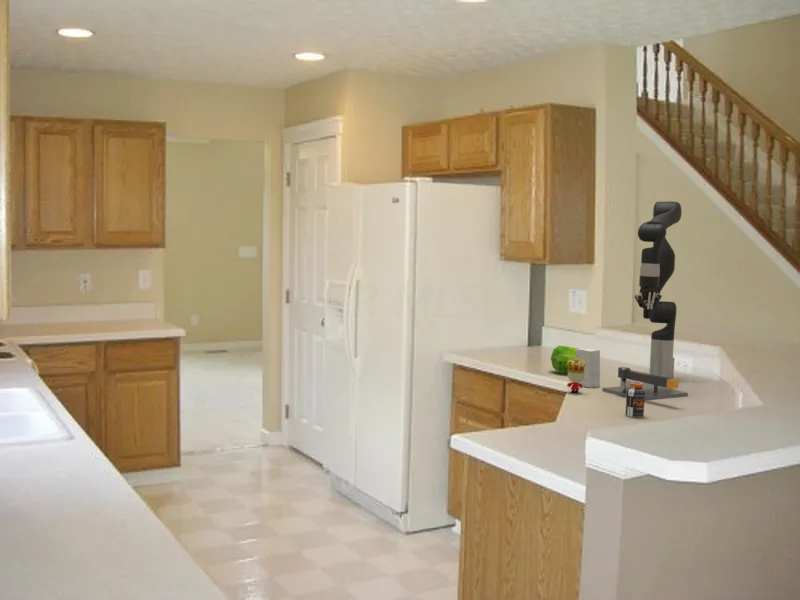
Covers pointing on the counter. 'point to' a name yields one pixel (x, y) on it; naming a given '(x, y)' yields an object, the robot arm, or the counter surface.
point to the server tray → (648, 396)
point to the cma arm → (647, 378)
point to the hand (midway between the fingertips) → (646, 318)
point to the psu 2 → (660, 389)
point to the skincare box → (590, 366)
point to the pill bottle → (635, 400)
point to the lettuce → (562, 358)
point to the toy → (575, 374)
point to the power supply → (646, 387)
